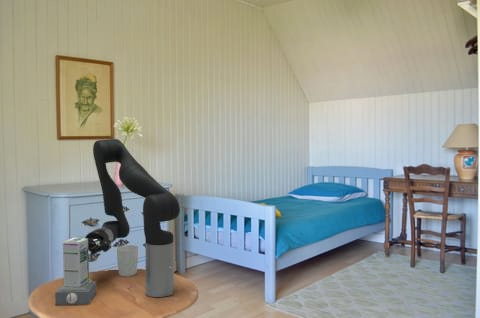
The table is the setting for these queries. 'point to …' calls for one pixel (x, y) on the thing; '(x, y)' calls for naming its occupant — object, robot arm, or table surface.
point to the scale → (75, 296)
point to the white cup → (127, 260)
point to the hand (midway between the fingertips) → (79, 251)
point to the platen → (82, 288)
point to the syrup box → (75, 262)
